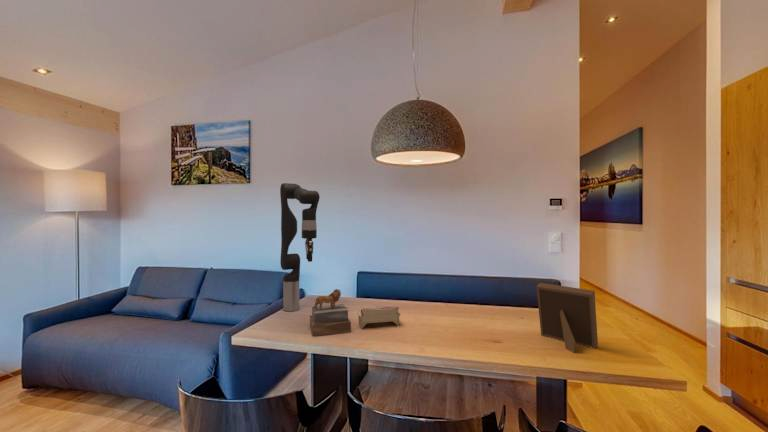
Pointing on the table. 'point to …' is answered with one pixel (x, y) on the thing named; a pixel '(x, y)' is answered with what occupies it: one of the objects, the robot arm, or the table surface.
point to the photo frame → (568, 315)
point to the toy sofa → (378, 315)
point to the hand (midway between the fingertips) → (309, 260)
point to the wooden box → (330, 320)
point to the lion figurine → (328, 299)
